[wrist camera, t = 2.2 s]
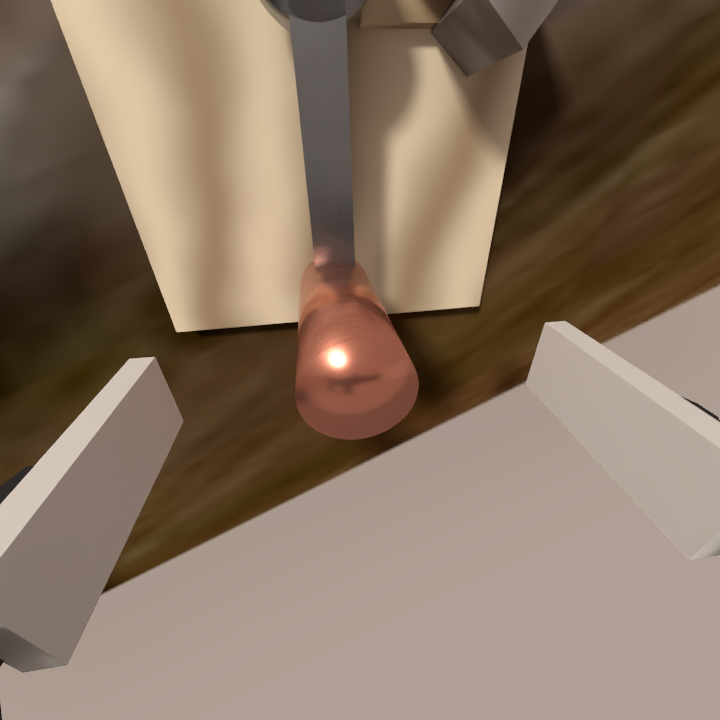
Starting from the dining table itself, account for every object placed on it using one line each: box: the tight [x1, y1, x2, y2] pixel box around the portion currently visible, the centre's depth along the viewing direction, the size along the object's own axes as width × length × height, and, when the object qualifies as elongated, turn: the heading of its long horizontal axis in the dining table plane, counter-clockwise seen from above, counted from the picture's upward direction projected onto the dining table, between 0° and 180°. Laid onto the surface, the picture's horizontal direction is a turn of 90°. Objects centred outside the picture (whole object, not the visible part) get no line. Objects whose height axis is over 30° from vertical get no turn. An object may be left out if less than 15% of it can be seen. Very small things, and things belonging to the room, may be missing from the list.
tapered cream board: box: [51, 0, 558, 332], centre depth 15 cm, size 21×21×6 cm
